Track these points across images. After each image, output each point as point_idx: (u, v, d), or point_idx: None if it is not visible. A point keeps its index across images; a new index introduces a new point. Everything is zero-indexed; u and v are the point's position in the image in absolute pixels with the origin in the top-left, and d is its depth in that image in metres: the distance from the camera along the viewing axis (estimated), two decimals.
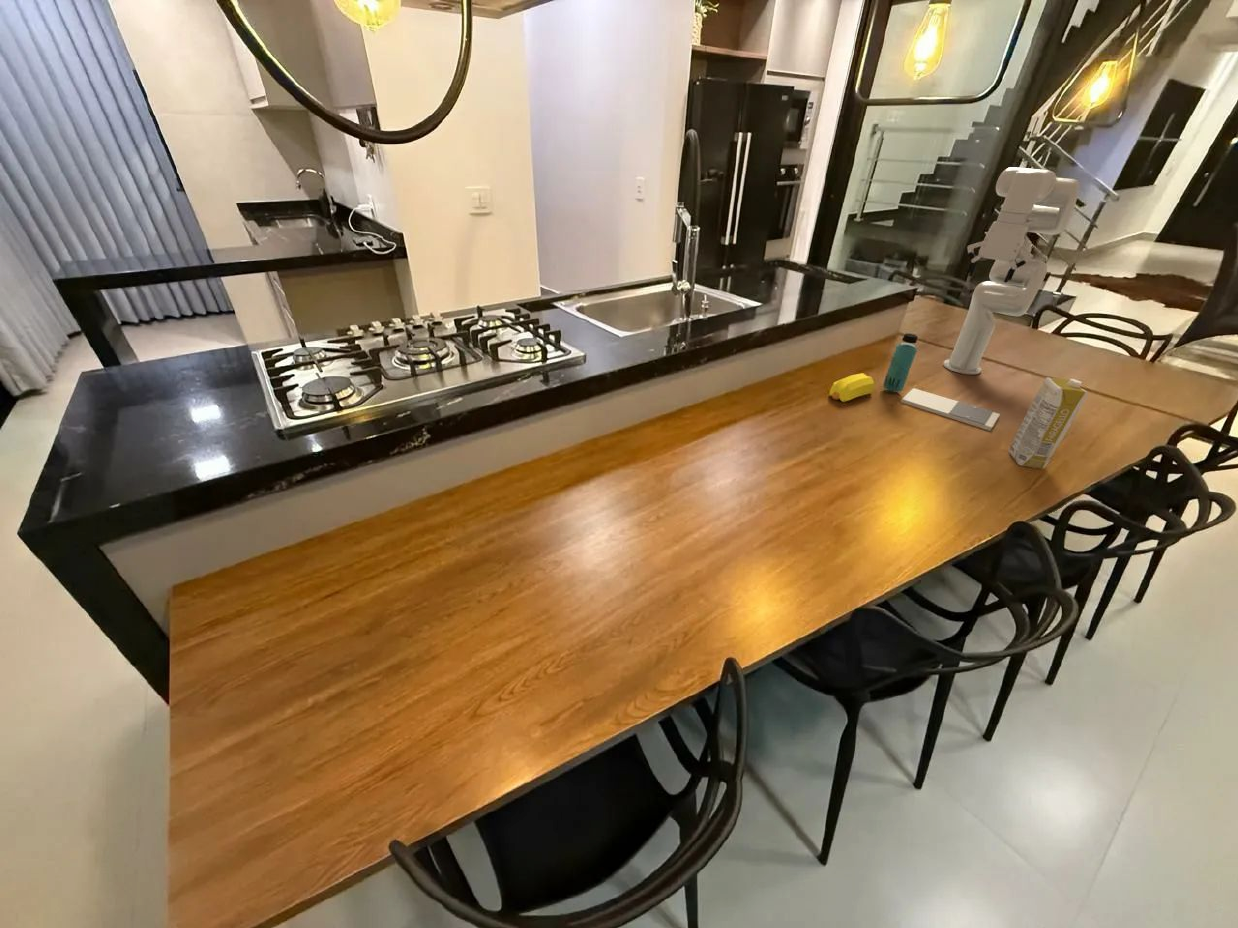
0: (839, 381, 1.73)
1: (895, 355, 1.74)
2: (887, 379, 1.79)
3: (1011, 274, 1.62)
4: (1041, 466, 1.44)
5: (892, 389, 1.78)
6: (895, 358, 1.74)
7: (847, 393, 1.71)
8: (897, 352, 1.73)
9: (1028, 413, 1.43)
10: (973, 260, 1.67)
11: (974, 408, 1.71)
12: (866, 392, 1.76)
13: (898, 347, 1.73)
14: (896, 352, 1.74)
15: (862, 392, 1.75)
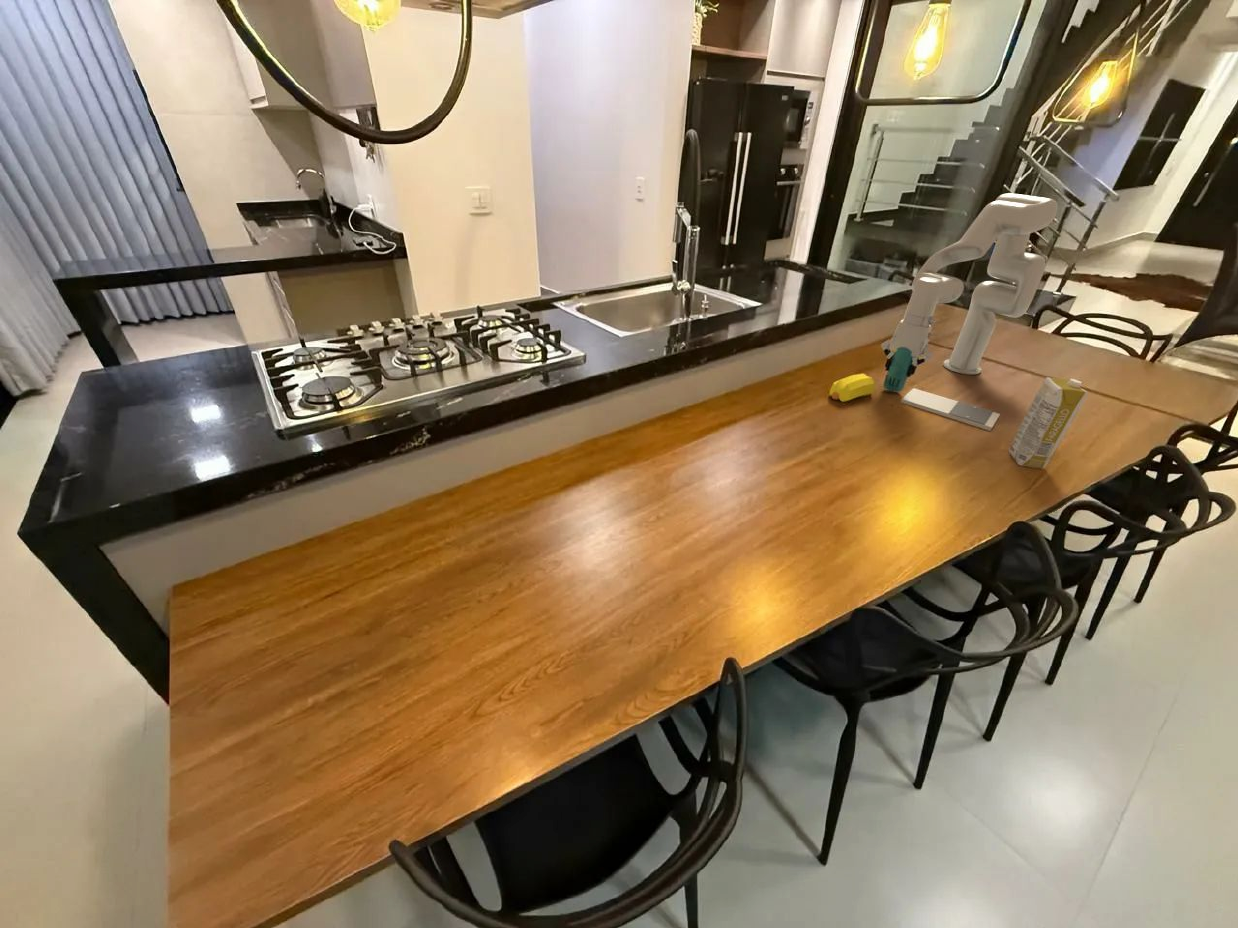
0: (839, 381, 1.73)
1: (895, 355, 1.74)
2: (887, 379, 1.79)
3: (913, 370, 1.74)
4: (1041, 466, 1.44)
5: (892, 389, 1.78)
6: (895, 358, 1.74)
7: (846, 393, 1.71)
8: (897, 352, 1.73)
9: (1028, 413, 1.43)
10: (888, 356, 1.77)
11: (974, 408, 1.71)
12: (866, 392, 1.75)
13: None
14: (896, 352, 1.74)
15: (862, 392, 1.74)
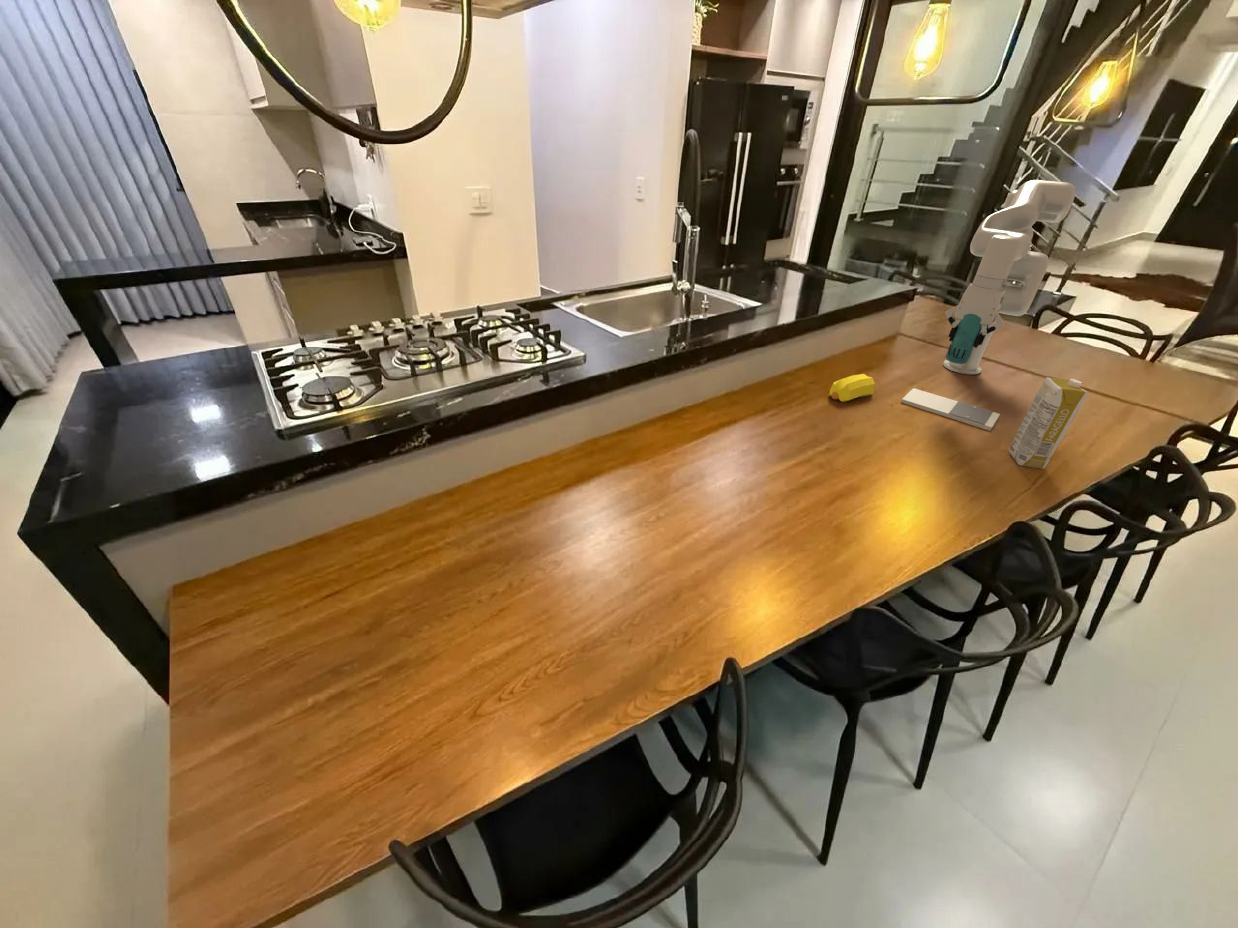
0: (839, 381, 1.73)
1: (961, 323, 1.59)
2: (951, 350, 1.63)
3: (981, 339, 1.58)
4: (1041, 466, 1.44)
5: (956, 361, 1.63)
6: (961, 326, 1.59)
7: (846, 393, 1.71)
8: (965, 320, 1.57)
9: (1028, 413, 1.43)
10: (953, 325, 1.61)
11: (974, 408, 1.71)
12: (866, 393, 1.75)
13: None
14: (963, 320, 1.58)
15: (862, 393, 1.74)
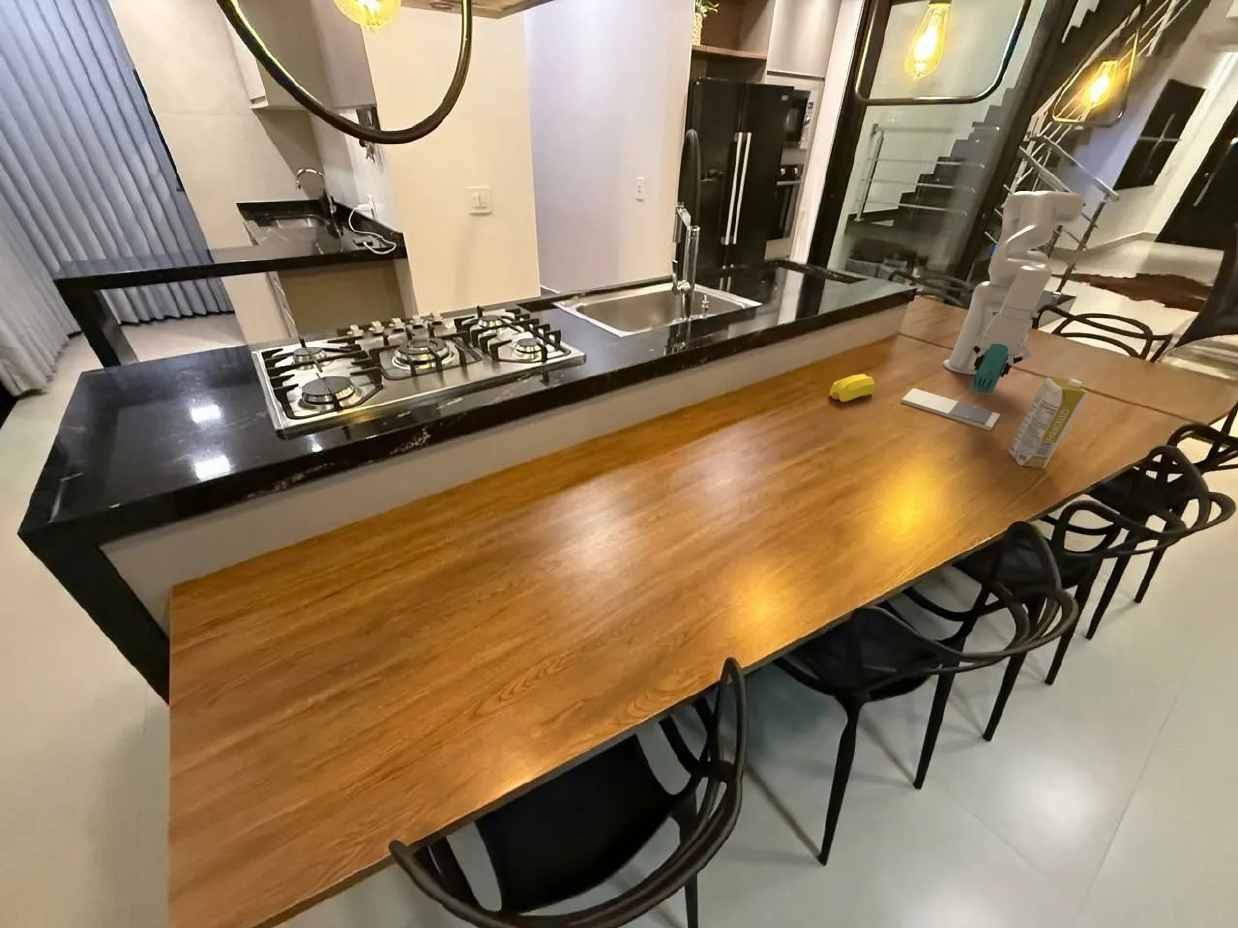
0: (839, 381, 1.73)
1: (988, 353, 1.57)
2: (976, 379, 1.62)
3: (1007, 369, 1.57)
4: (1041, 466, 1.44)
5: (982, 390, 1.61)
6: (988, 356, 1.57)
7: (846, 393, 1.71)
8: (991, 350, 1.56)
9: (1028, 413, 1.43)
10: (978, 354, 1.60)
11: (974, 408, 1.71)
12: (866, 393, 1.75)
13: (992, 344, 1.56)
14: (989, 349, 1.57)
15: (862, 393, 1.74)
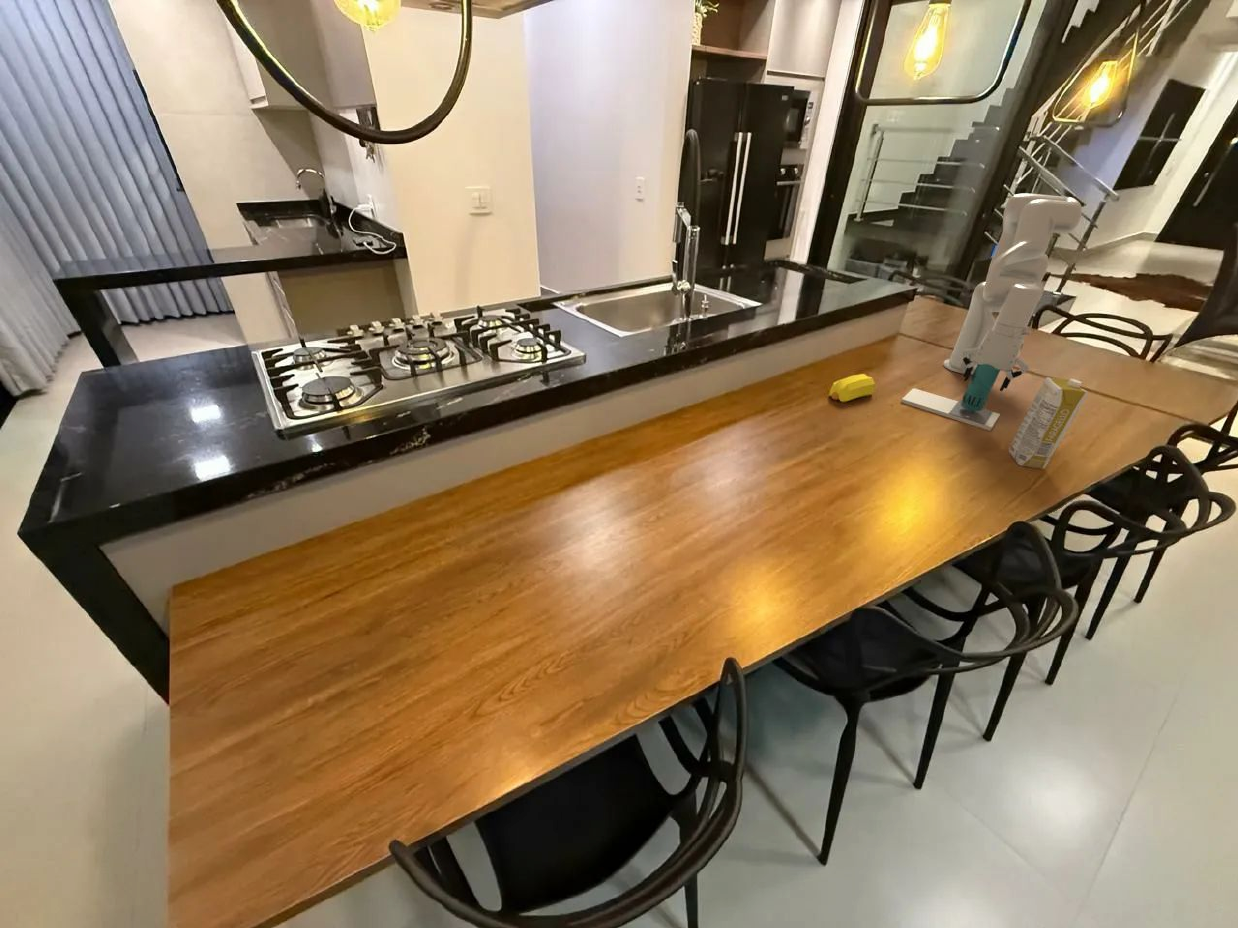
0: (839, 381, 1.73)
1: (977, 372, 1.61)
2: (966, 398, 1.66)
3: (1007, 383, 1.58)
4: (1041, 466, 1.44)
5: (971, 408, 1.65)
6: (977, 375, 1.61)
7: (846, 393, 1.71)
8: (980, 369, 1.60)
9: (1028, 413, 1.43)
10: (968, 366, 1.63)
11: None
12: (866, 393, 1.75)
13: None
14: (978, 369, 1.61)
15: (862, 393, 1.74)
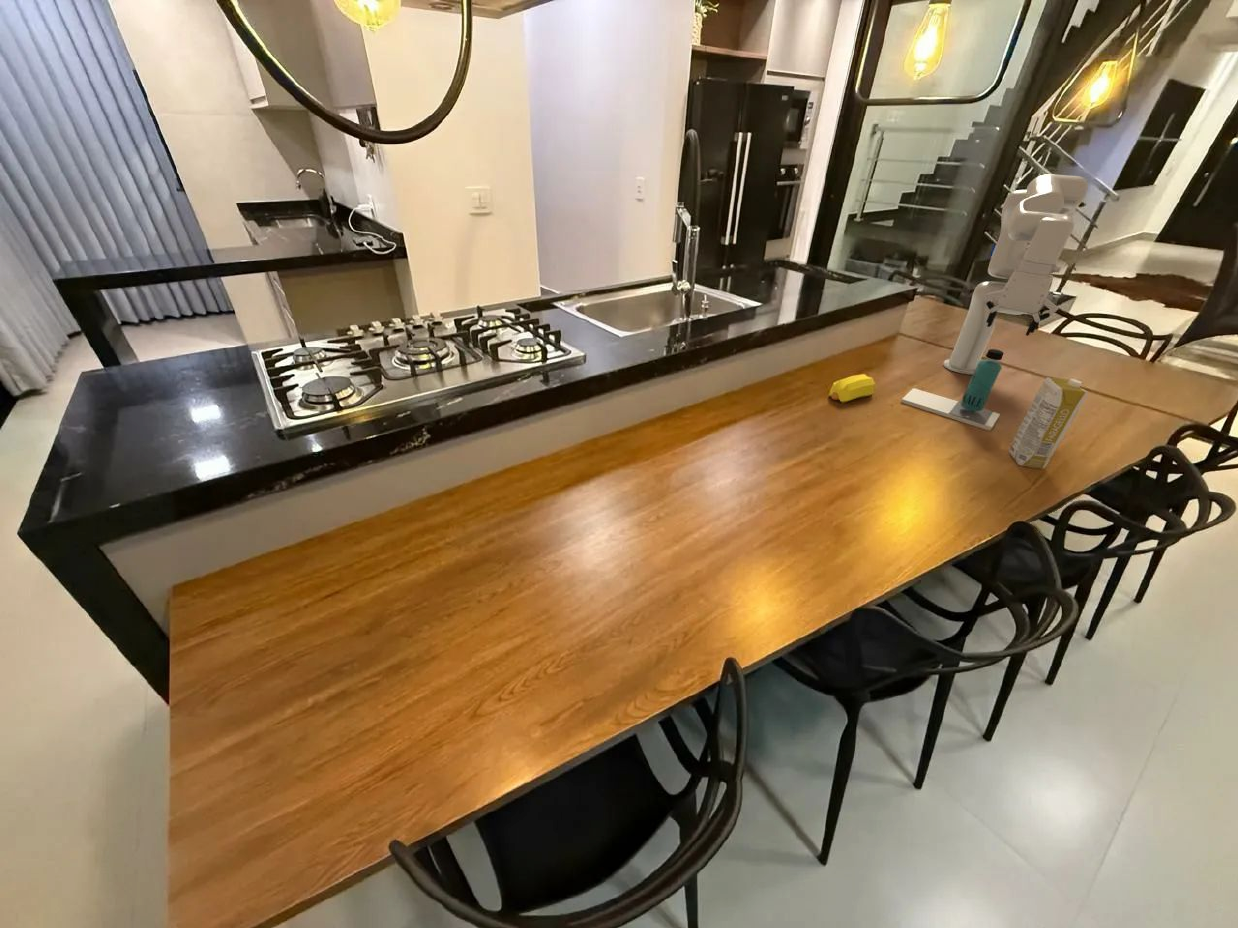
0: (839, 381, 1.73)
1: (977, 372, 1.61)
2: (966, 398, 1.66)
3: (1034, 327, 1.49)
4: (1041, 466, 1.44)
5: (971, 408, 1.65)
6: (977, 375, 1.61)
7: (846, 393, 1.71)
8: (980, 369, 1.60)
9: (1028, 413, 1.43)
10: (992, 310, 1.54)
11: None
12: (866, 393, 1.75)
13: (981, 364, 1.60)
14: (978, 369, 1.61)
15: (862, 393, 1.74)
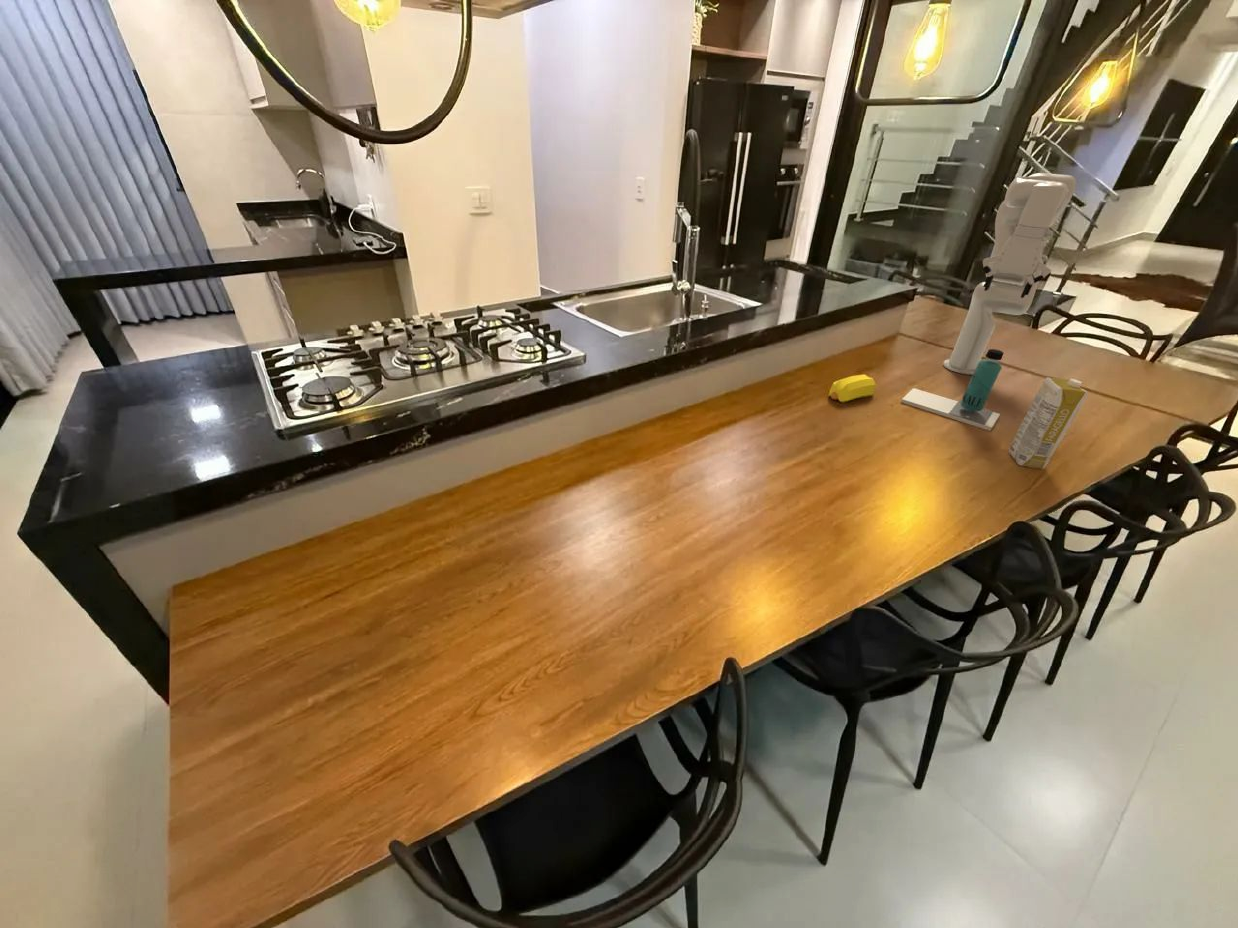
0: (838, 381, 1.73)
1: (977, 372, 1.61)
2: (966, 398, 1.66)
3: (1028, 289, 1.58)
4: (1041, 466, 1.44)
5: (971, 409, 1.65)
6: (977, 375, 1.61)
7: (845, 393, 1.71)
8: (980, 369, 1.60)
9: (1028, 413, 1.43)
10: (989, 274, 1.62)
11: None
12: (866, 393, 1.75)
13: (981, 364, 1.60)
14: (978, 369, 1.61)
15: (862, 393, 1.74)
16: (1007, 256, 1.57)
